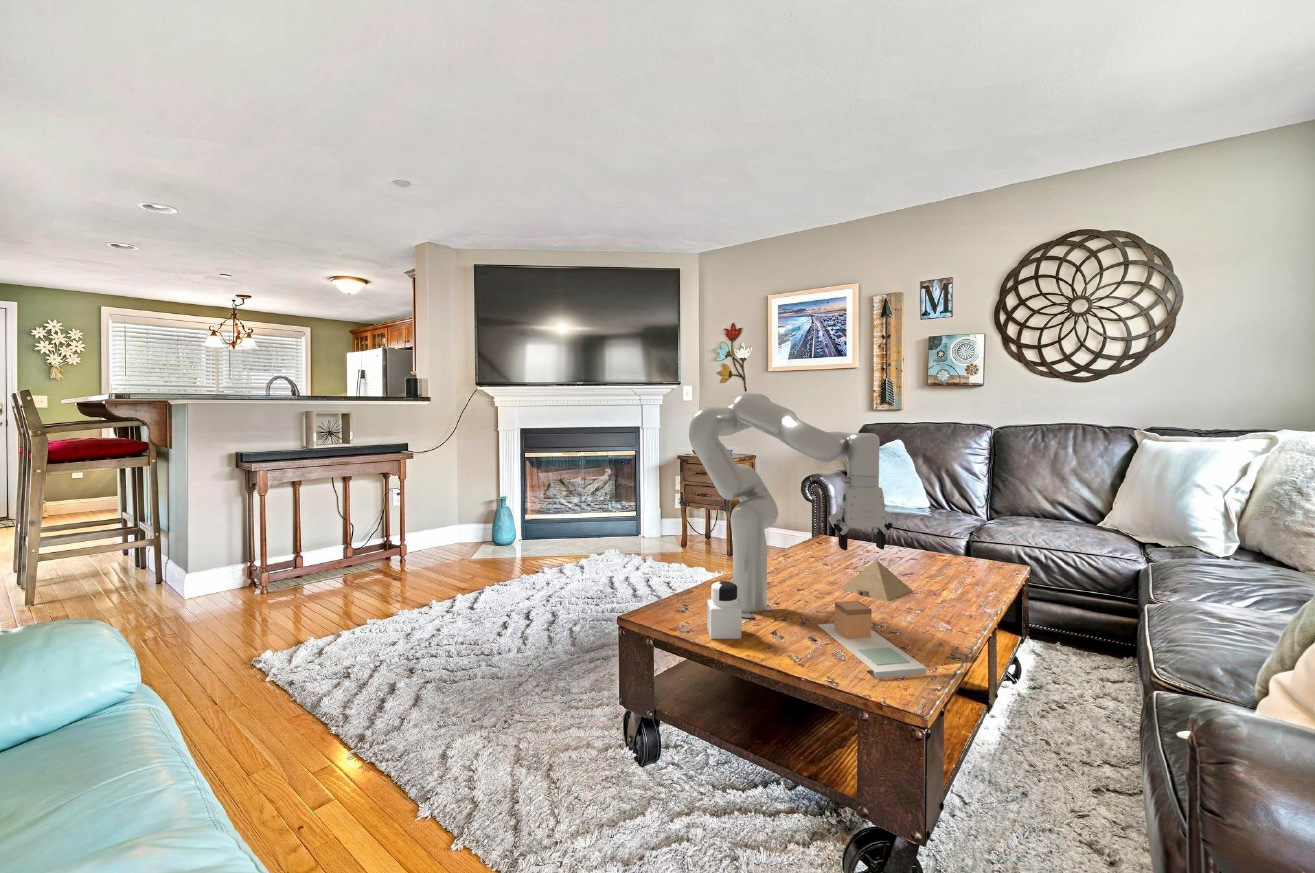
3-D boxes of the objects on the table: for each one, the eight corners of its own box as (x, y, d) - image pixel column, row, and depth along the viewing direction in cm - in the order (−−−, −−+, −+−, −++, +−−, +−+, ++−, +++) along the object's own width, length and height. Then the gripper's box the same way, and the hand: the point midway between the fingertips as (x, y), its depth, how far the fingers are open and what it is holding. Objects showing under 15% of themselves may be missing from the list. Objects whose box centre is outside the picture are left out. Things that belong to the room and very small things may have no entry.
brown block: (846, 638, 144) (847, 610, 144) (834, 629, 151) (834, 602, 150) (870, 637, 146) (871, 609, 145) (857, 627, 152) (858, 600, 152)
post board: (875, 678, 127) (876, 648, 126) (817, 630, 154) (817, 605, 154) (926, 674, 129) (927, 645, 128) (859, 627, 156) (860, 602, 156)
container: (736, 627, 156) (736, 578, 155) (741, 639, 148) (742, 587, 147) (707, 628, 155) (707, 579, 155) (710, 639, 148) (711, 588, 147)
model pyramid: (837, 590, 189) (837, 559, 189) (865, 580, 201) (865, 550, 200) (886, 603, 177) (887, 570, 176) (913, 591, 188) (914, 560, 188)
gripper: (835, 484, 146) (834, 553, 147) (903, 483, 148) (901, 551, 148) (824, 480, 153) (823, 546, 154) (888, 479, 155) (887, 544, 156)
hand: (861, 548), depth 151 cm, fingers open, 9 cm apart
